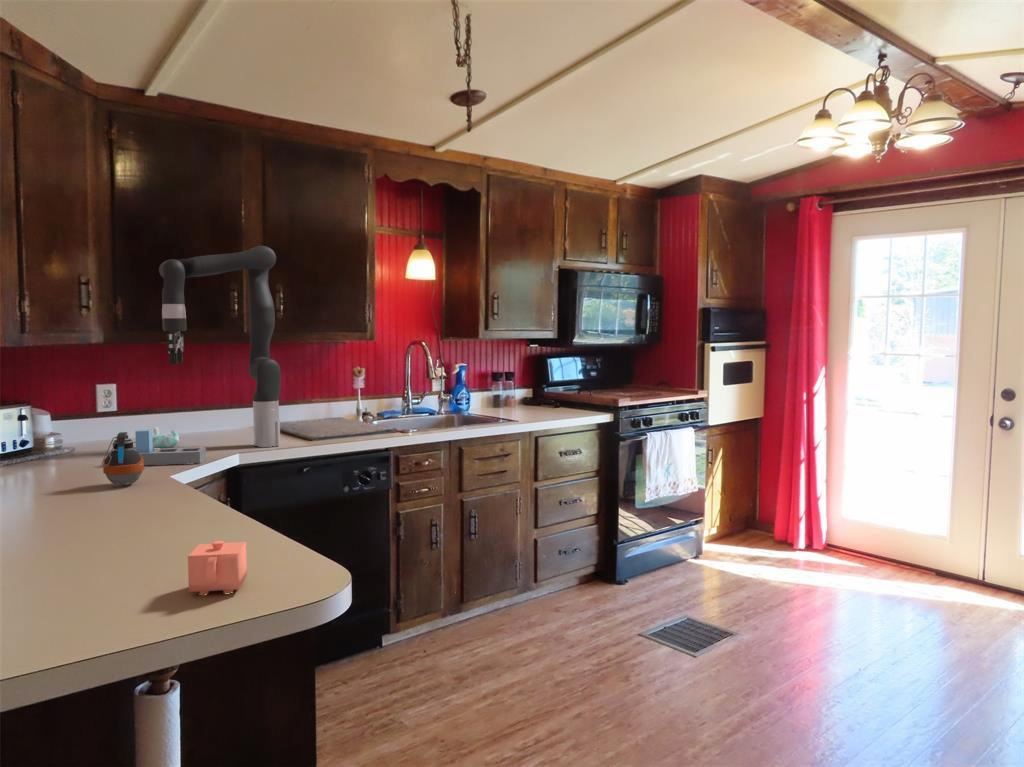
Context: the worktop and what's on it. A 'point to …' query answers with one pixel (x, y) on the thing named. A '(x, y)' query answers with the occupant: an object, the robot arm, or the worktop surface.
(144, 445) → the plug
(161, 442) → the figurine
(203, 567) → the pink cube teapot
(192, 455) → the panel
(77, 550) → the worktop surface
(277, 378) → the robot arm
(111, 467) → the grenade
